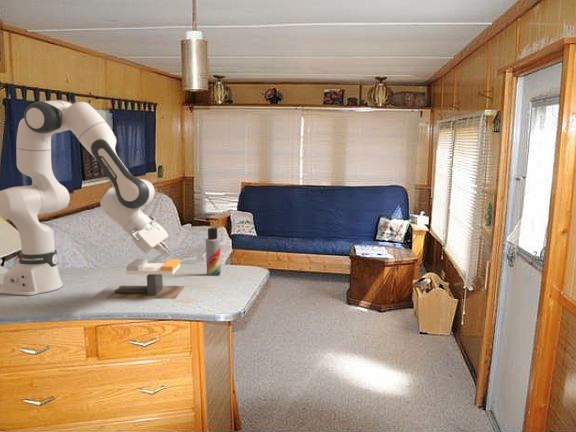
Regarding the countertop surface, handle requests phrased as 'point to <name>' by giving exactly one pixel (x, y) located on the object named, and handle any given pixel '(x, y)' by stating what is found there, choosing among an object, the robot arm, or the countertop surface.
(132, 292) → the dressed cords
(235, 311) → the countertop surface
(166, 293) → the mounting board
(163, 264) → the block
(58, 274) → the robot arm
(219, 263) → the lotion bottle
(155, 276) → the block
